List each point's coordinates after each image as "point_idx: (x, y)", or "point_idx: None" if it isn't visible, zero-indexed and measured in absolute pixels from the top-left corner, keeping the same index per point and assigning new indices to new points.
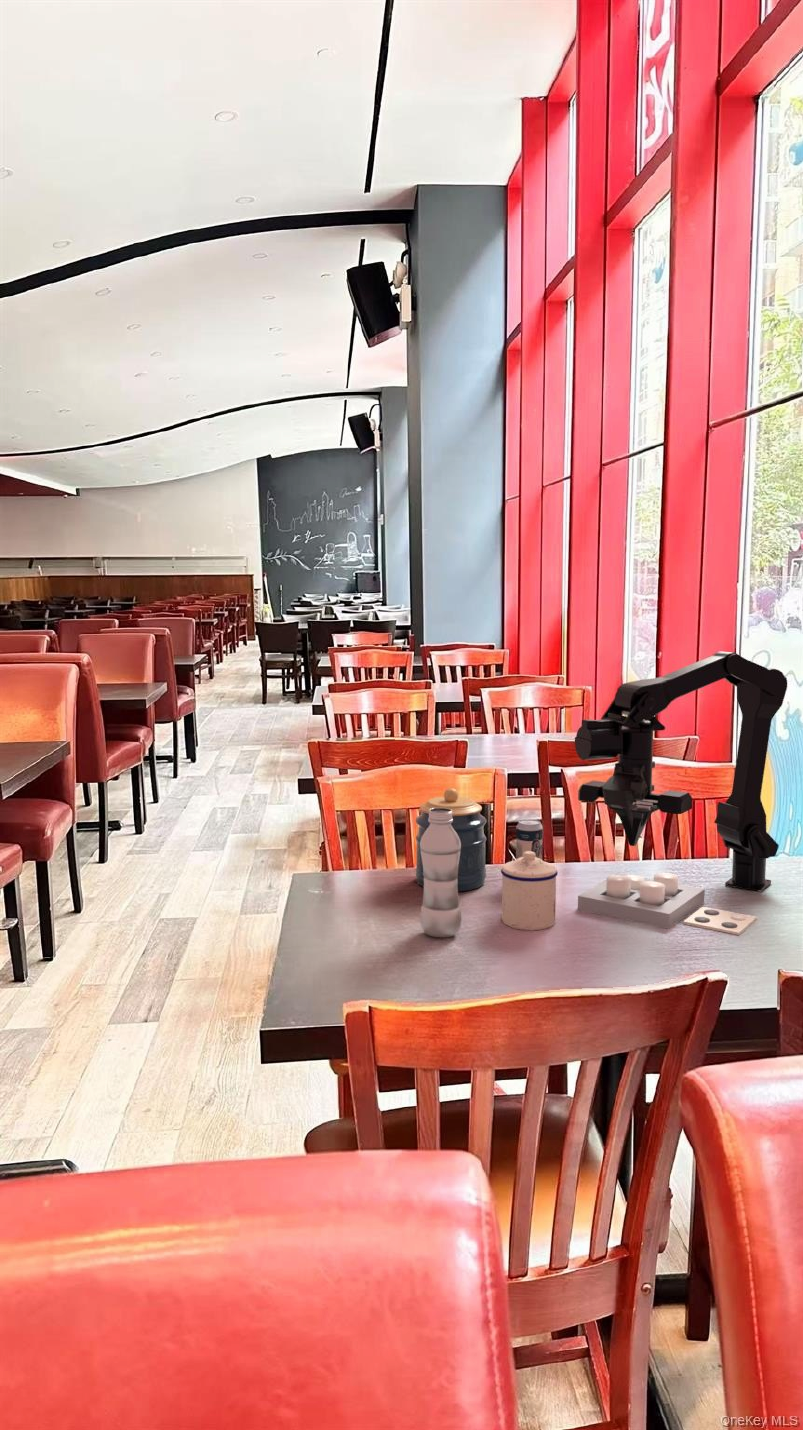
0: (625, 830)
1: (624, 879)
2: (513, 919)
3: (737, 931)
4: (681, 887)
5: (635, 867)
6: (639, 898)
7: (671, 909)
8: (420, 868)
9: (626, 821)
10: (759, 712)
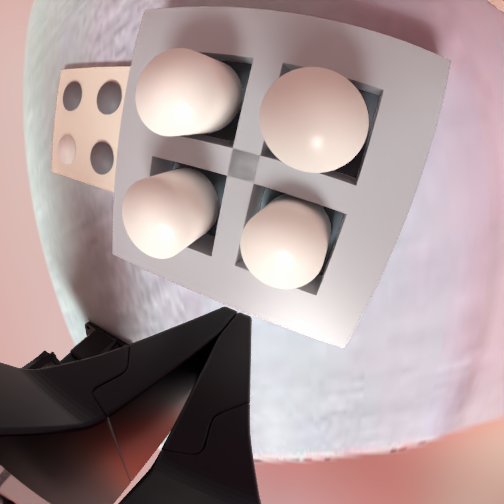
0: (240, 379)
1: (284, 115)
2: None
3: (63, 73)
4: None
5: (308, 435)
6: (236, 86)
7: (142, 43)
8: None
9: (191, 430)
10: None
